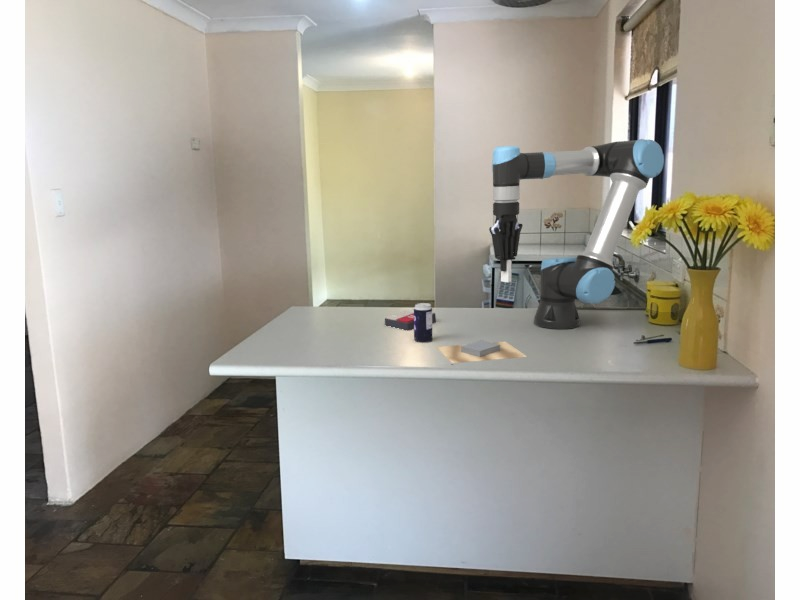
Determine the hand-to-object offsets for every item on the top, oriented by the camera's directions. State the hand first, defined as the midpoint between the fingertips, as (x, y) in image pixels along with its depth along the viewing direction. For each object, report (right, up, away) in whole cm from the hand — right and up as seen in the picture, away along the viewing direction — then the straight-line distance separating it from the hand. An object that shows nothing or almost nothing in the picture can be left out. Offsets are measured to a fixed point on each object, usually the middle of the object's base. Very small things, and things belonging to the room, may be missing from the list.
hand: (506, 281), depth 174 cm
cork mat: (-8, -21, -4) cm, 23 cm away
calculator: (-28, -15, +32) cm, 45 cm away
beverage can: (-24, -19, +8) cm, 32 cm away
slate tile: (-5, -19, -1) cm, 19 cm away
